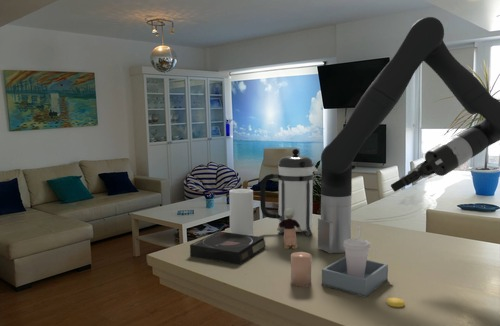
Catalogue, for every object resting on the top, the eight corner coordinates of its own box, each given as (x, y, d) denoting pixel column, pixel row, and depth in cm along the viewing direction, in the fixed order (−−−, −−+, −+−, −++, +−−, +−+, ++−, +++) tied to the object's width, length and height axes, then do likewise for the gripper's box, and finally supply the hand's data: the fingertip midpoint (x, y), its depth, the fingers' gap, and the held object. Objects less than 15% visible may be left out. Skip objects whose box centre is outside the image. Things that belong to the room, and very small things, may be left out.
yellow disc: (395, 308, 89) (395, 306, 89) (383, 302, 92) (383, 299, 92) (407, 305, 90) (408, 302, 90) (395, 299, 93) (395, 296, 93)
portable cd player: (240, 266, 116) (240, 252, 116) (190, 257, 124) (190, 244, 124) (265, 250, 131) (265, 237, 130) (219, 243, 139) (219, 231, 138)
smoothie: (370, 286, 100) (371, 228, 98) (342, 284, 101) (344, 227, 99) (367, 276, 106) (369, 222, 104) (342, 274, 107) (343, 221, 105)
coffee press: (295, 224, 161) (295, 146, 158) (325, 233, 148) (325, 148, 145) (259, 231, 151) (258, 148, 148) (287, 241, 138) (287, 151, 135)
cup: (229, 232, 149) (228, 188, 148) (252, 232, 150) (251, 188, 148) (230, 239, 141) (229, 192, 140) (254, 238, 142) (254, 192, 140)
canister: (297, 287, 100) (297, 259, 99) (287, 280, 105) (287, 253, 104) (315, 284, 102) (315, 256, 102) (304, 277, 107) (304, 250, 106)
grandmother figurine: (299, 245, 134) (300, 206, 133) (302, 248, 130) (302, 208, 129) (276, 245, 134) (276, 207, 132) (278, 249, 130) (277, 209, 128)
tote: (365, 297, 95) (365, 280, 94) (321, 285, 102) (322, 269, 101) (387, 279, 105) (387, 264, 104) (346, 269, 112) (346, 255, 111)
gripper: (428, 151, 118) (381, 178, 116) (452, 135, 104) (399, 166, 102) (444, 173, 116) (396, 202, 114) (471, 160, 103) (417, 193, 101)
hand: (398, 185), depth 108 cm, fingers open, 8 cm apart
